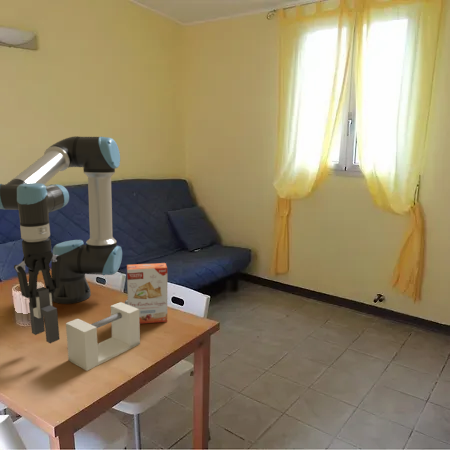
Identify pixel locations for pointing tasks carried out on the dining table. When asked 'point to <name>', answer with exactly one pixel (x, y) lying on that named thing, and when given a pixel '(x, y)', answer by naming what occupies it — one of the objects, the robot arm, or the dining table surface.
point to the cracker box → (148, 291)
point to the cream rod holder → (119, 342)
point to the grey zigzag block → (45, 317)
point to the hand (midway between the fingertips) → (43, 314)
